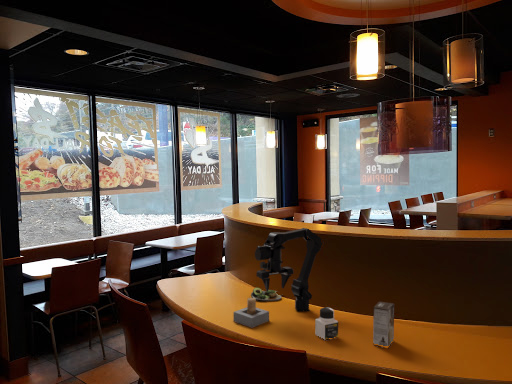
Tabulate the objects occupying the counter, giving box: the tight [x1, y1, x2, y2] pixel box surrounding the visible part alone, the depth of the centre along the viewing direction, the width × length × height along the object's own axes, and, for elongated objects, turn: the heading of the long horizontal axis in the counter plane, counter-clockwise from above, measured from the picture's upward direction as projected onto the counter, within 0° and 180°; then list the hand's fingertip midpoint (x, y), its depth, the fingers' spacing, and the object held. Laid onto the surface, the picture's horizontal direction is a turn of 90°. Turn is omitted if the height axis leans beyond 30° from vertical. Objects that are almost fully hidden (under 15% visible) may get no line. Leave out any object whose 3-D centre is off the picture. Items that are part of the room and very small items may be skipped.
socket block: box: [233, 306, 270, 329], centre depth 188 cm, size 12×12×4 cm
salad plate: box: [250, 287, 282, 303], centre depth 226 cm, size 19×18×5 cm
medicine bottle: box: [314, 307, 339, 341], centre depth 170 cm, size 7×7×12 cm
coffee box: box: [372, 301, 395, 346], centre depth 163 cm, size 9×6×16 cm
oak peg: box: [246, 297, 257, 315], centre depth 188 cm, size 4×4×10 cm
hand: (275, 289), depth 195 cm, fingers open, 9 cm apart
